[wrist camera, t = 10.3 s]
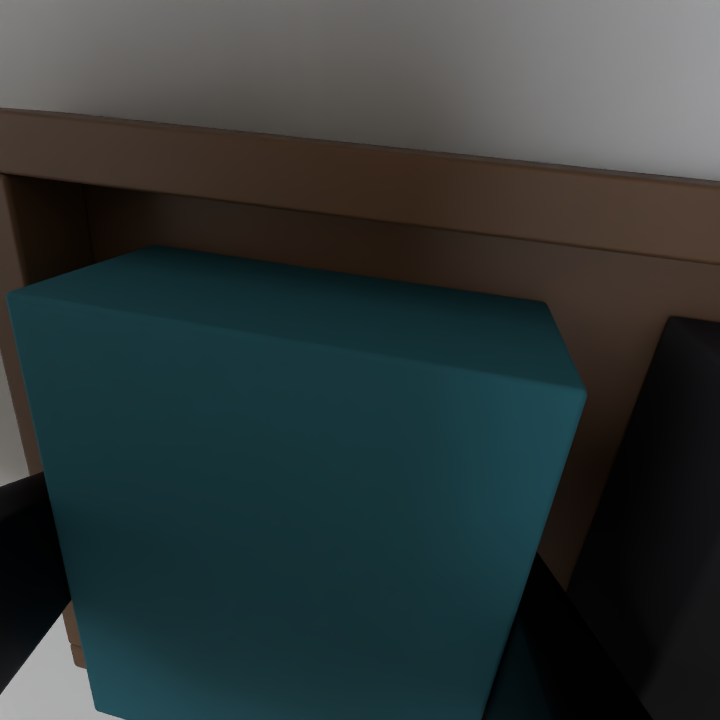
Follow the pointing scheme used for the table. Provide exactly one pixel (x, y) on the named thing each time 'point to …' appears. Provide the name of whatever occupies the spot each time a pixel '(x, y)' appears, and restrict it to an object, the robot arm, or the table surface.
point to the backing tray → (378, 247)
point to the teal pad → (292, 481)
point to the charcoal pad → (663, 535)
